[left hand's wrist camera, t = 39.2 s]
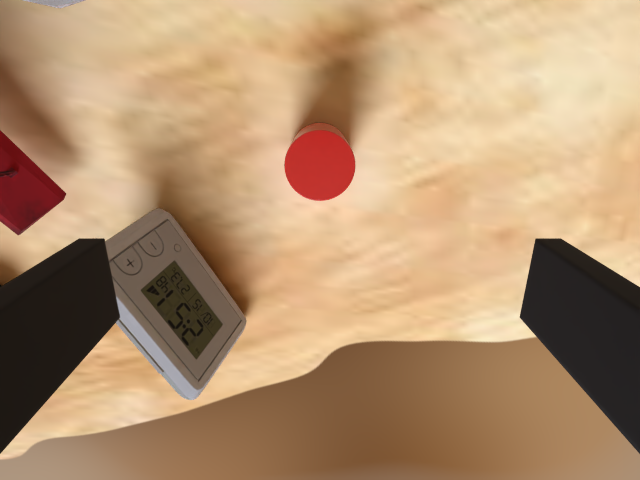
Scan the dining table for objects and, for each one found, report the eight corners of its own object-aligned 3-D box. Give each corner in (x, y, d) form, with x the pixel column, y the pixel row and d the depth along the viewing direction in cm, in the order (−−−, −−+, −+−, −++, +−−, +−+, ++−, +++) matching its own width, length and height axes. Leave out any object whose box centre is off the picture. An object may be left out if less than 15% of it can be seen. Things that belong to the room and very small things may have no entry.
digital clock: (253, 326, 45) (235, 393, 35) (181, 347, 46) (143, 417, 36) (195, 194, 40) (153, 228, 30) (114, 220, 41) (48, 262, 31)
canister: (279, 147, 39) (270, 160, 31) (325, 110, 37) (326, 114, 30) (314, 192, 40) (313, 214, 33) (360, 157, 39) (369, 172, 32)
